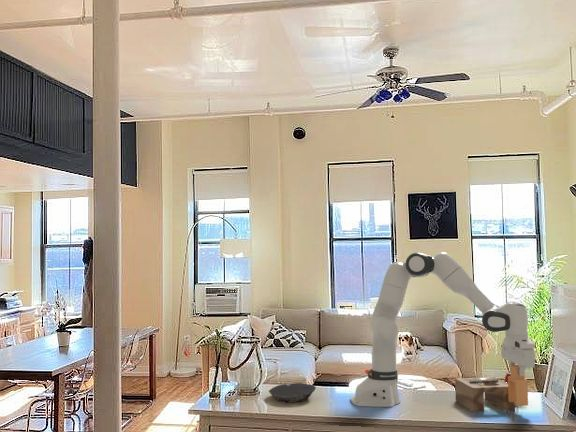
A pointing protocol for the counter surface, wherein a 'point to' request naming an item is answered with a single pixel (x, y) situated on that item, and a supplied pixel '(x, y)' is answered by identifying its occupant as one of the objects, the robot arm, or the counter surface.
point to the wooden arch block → (482, 393)
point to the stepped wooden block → (517, 387)
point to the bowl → (292, 392)
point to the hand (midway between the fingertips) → (517, 374)
